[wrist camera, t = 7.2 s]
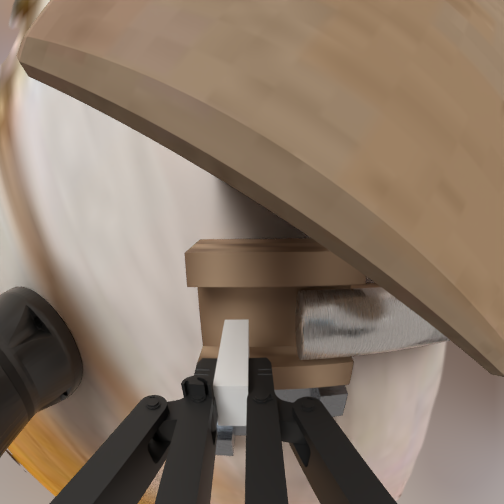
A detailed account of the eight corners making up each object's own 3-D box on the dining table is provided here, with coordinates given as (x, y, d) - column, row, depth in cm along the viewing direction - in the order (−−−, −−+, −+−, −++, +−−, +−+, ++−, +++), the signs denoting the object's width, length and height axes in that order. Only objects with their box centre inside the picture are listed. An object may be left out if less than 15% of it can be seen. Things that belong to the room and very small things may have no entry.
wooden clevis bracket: (208, 355, 25) (199, 388, 20) (200, 239, 23) (184, 252, 18) (410, 343, 24) (432, 369, 20) (428, 238, 22) (459, 250, 17)
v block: (214, 429, 27) (209, 454, 23) (205, 371, 25) (198, 397, 21) (326, 426, 27) (332, 451, 23) (337, 368, 25) (347, 393, 21)
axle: (294, 337, 22) (302, 374, 17) (296, 280, 21) (307, 307, 16) (434, 324, 22) (461, 349, 17) (444, 274, 21) (477, 293, 16)
